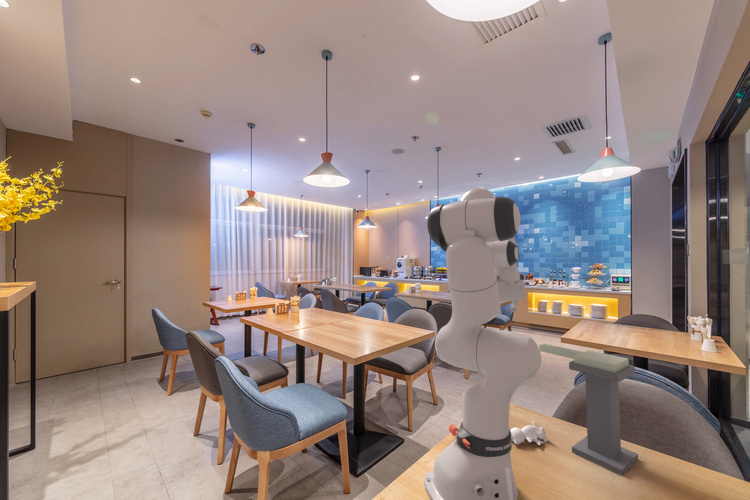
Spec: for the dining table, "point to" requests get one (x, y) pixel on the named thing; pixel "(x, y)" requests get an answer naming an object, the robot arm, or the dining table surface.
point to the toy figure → (528, 434)
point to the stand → (604, 419)
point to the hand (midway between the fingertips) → (506, 313)
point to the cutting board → (589, 358)
